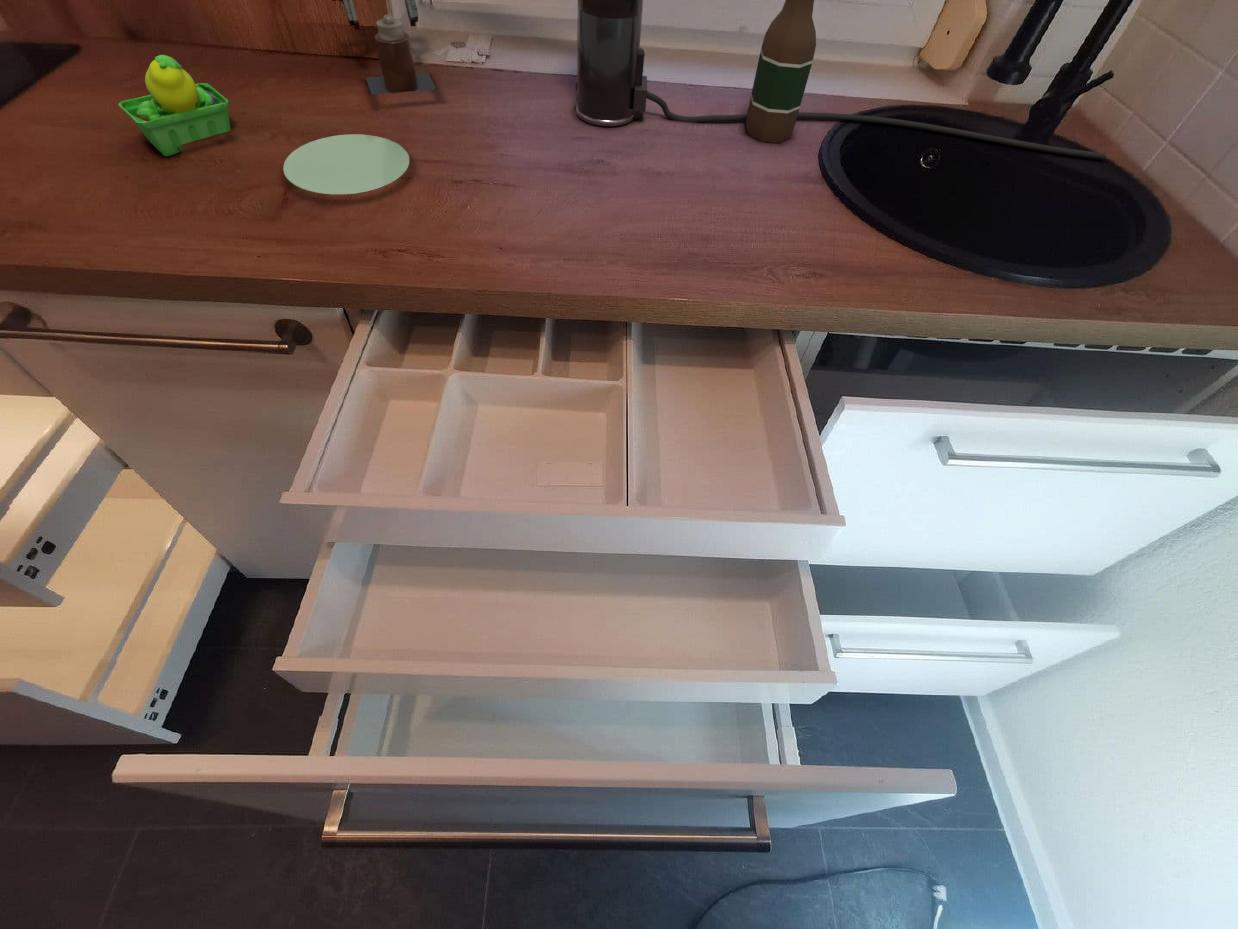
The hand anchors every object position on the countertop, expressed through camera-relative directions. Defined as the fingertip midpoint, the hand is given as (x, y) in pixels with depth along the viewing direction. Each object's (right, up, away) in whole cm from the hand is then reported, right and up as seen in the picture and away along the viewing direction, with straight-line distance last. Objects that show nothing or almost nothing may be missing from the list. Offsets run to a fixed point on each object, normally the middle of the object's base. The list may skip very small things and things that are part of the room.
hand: (385, 25), depth 96 cm
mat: (+2, -9, +2) cm, 9 cm away
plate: (0, -29, -13) cm, 32 cm away
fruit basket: (-22, -24, -11) cm, 35 cm away
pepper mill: (+2, -8, +2) cm, 9 cm away
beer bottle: (+60, -16, +2) cm, 62 cm away
